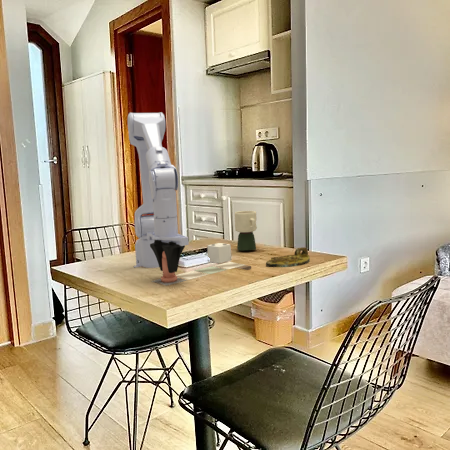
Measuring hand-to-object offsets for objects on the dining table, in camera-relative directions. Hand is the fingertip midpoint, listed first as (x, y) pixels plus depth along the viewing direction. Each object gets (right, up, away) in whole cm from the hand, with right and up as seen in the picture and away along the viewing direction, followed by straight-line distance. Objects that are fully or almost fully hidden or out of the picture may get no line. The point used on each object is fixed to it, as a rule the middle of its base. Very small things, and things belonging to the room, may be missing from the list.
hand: (168, 271), depth 119 cm
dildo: (0, -2, 0) cm, 2 cm away
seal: (+32, 0, +19) cm, 38 cm away
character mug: (+21, +3, +39) cm, 45 cm away
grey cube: (+12, 0, +26) cm, 29 cm away
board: (+8, -2, +8) cm, 11 cm away
